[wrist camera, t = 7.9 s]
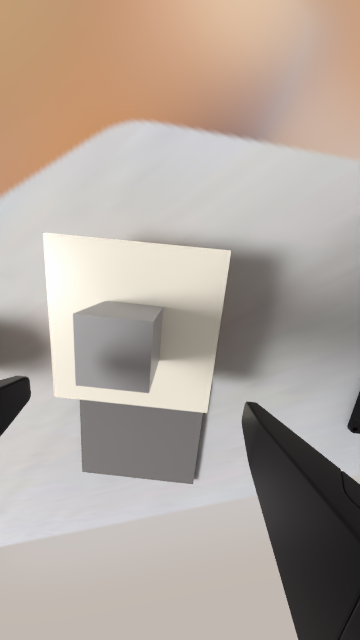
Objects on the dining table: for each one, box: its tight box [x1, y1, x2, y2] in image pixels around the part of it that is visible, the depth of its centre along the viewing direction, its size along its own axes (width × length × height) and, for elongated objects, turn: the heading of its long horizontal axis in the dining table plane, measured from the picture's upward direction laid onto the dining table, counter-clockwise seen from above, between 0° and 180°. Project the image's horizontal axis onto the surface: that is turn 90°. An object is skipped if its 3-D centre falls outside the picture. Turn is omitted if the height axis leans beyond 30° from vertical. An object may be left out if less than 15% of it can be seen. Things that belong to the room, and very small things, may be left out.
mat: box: [80, 400, 203, 484], centre depth 22 cm, size 13×13×1 cm
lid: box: [43, 233, 231, 413], centre depth 13 cm, size 12×12×5 cm
